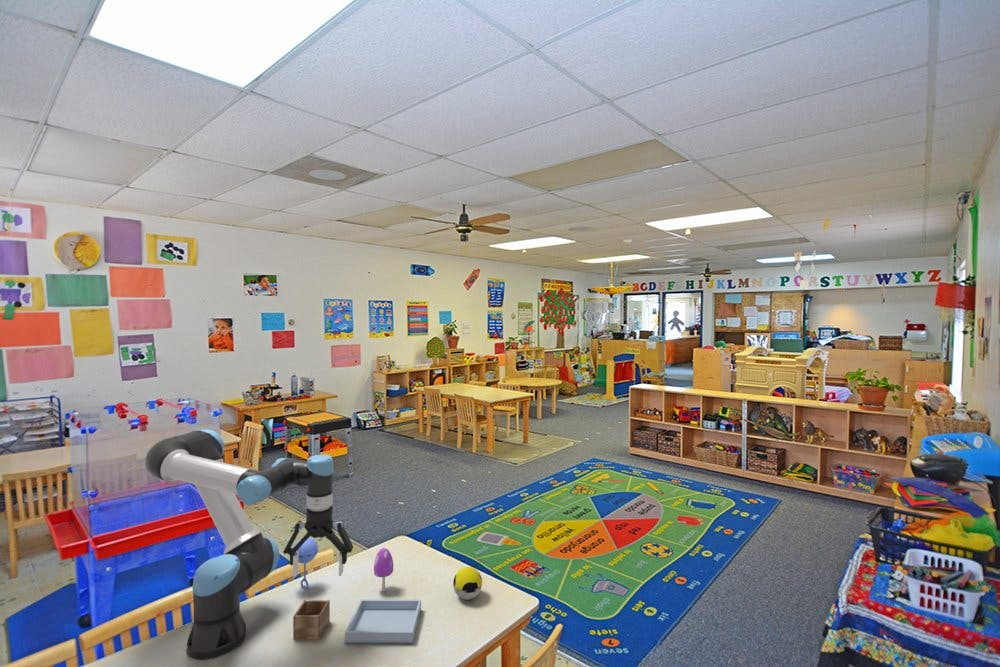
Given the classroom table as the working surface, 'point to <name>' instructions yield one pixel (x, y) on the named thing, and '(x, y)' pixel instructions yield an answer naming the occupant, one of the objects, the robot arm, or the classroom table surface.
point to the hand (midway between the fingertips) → (318, 574)
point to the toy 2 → (467, 583)
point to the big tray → (384, 622)
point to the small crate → (311, 619)
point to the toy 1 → (383, 565)
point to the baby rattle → (307, 555)
